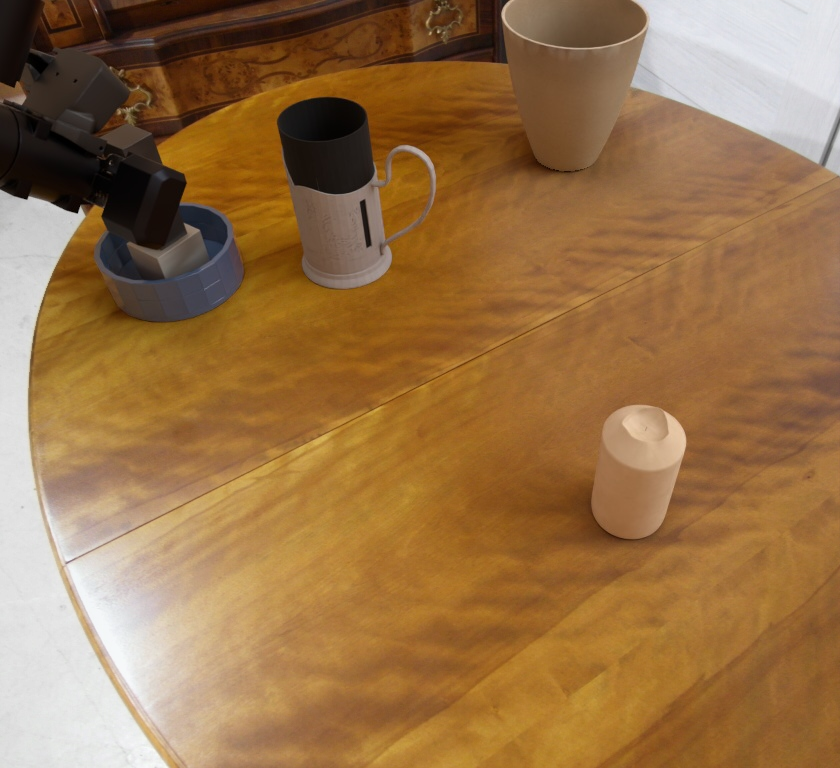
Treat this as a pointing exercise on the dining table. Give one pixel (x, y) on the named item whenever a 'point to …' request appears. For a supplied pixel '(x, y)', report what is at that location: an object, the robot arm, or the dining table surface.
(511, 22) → the plant pot
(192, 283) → the bowl
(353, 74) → the dining table surface
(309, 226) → the glass holder
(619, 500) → the candle
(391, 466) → the dining table surface
